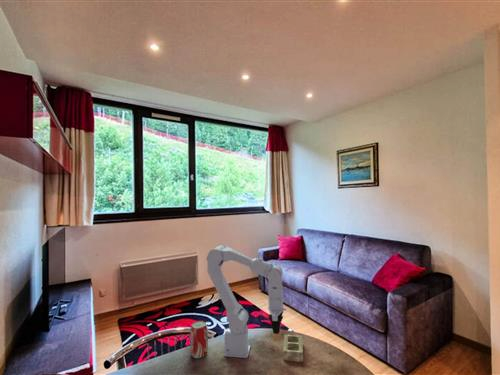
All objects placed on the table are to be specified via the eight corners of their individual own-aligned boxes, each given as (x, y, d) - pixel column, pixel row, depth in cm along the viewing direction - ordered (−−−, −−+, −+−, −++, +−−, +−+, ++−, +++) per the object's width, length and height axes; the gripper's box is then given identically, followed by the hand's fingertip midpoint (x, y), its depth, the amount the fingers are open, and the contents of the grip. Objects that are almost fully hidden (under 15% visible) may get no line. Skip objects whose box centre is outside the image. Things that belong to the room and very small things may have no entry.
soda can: (204, 361, 97) (203, 329, 98) (187, 359, 99) (187, 328, 99) (210, 350, 104) (210, 320, 105) (194, 348, 106) (194, 319, 106)
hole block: (283, 360, 97) (283, 351, 97) (284, 342, 109) (284, 334, 109) (303, 362, 96) (303, 352, 96) (302, 344, 107) (301, 335, 108)
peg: (272, 340, 98) (272, 320, 99) (273, 336, 101) (272, 316, 102) (280, 341, 98) (279, 320, 98) (280, 337, 101) (280, 316, 101)
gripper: (285, 304, 93) (286, 341, 92) (286, 290, 107) (287, 322, 106) (266, 303, 94) (267, 340, 93) (269, 289, 108) (270, 321, 107)
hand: (276, 330), depth 100 cm, fingers closed on peg, 3 cm apart
